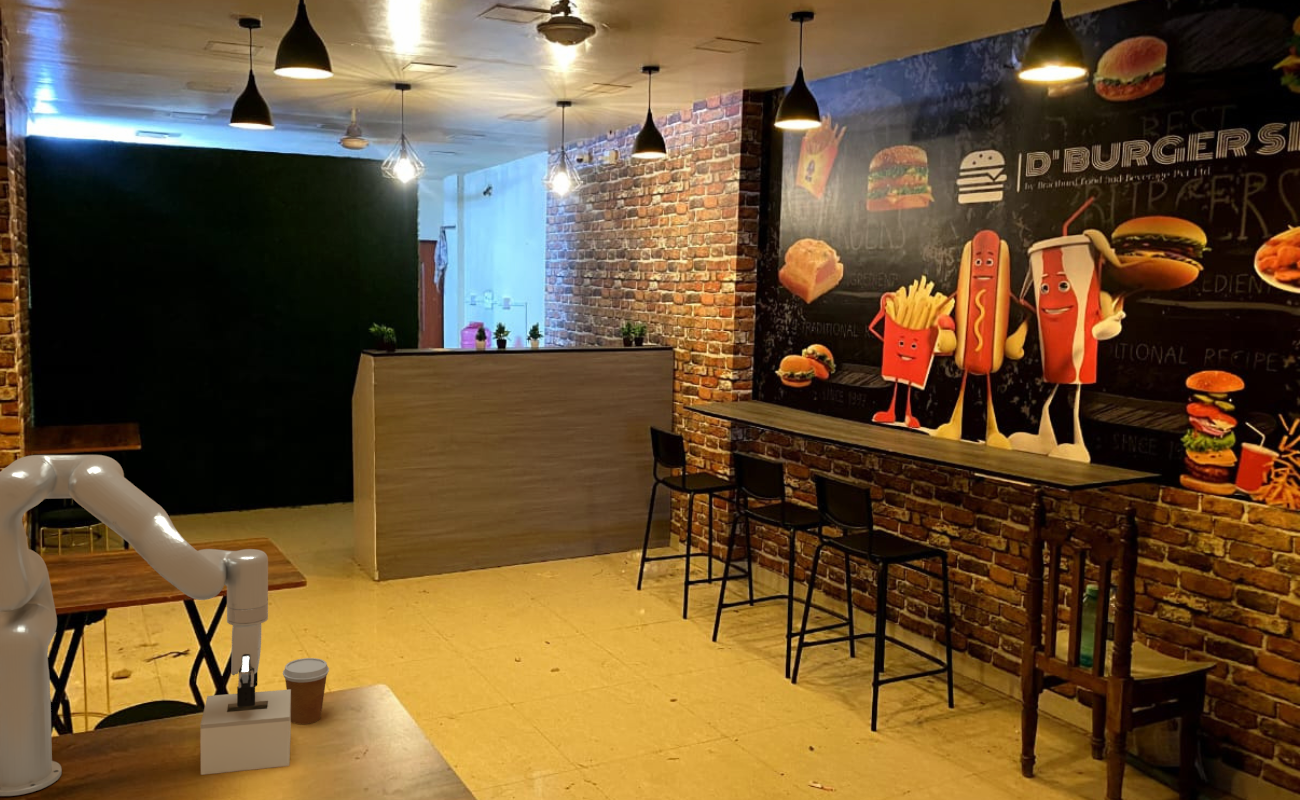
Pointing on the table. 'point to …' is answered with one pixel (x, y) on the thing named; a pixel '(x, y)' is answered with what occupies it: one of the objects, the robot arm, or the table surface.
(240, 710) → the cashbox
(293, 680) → the disposable coffee cup
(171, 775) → the table surface
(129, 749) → the table surface
